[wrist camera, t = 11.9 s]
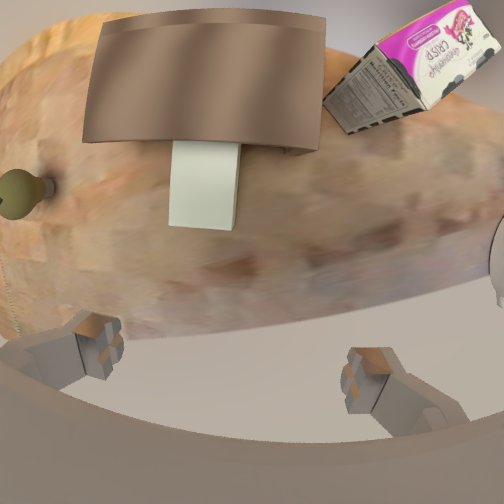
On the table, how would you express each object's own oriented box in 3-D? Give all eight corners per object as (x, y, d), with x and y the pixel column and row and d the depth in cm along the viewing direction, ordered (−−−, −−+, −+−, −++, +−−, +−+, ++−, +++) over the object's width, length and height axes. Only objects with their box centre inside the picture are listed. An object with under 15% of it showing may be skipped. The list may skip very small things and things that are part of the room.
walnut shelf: (306, 59, 25) (325, 17, 15) (298, 155, 28) (318, 150, 19) (143, 56, 25) (103, 22, 15) (131, 147, 28) (82, 142, 19)
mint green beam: (248, 74, 26) (246, 61, 22) (235, 222, 30) (231, 230, 27) (191, 73, 26) (182, 61, 22) (179, 218, 30) (168, 225, 27)
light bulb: (72, 174, 29) (17, 181, 19) (60, 215, 30) (8, 234, 21) (44, 159, 28) (-10, 164, 19) (34, 198, 30) (-18, 212, 20)
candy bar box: (383, 53, 24) (463, -7, 8) (411, 86, 25) (505, 49, 9) (316, 101, 27) (373, 40, 11) (347, 137, 28) (432, 115, 12)
